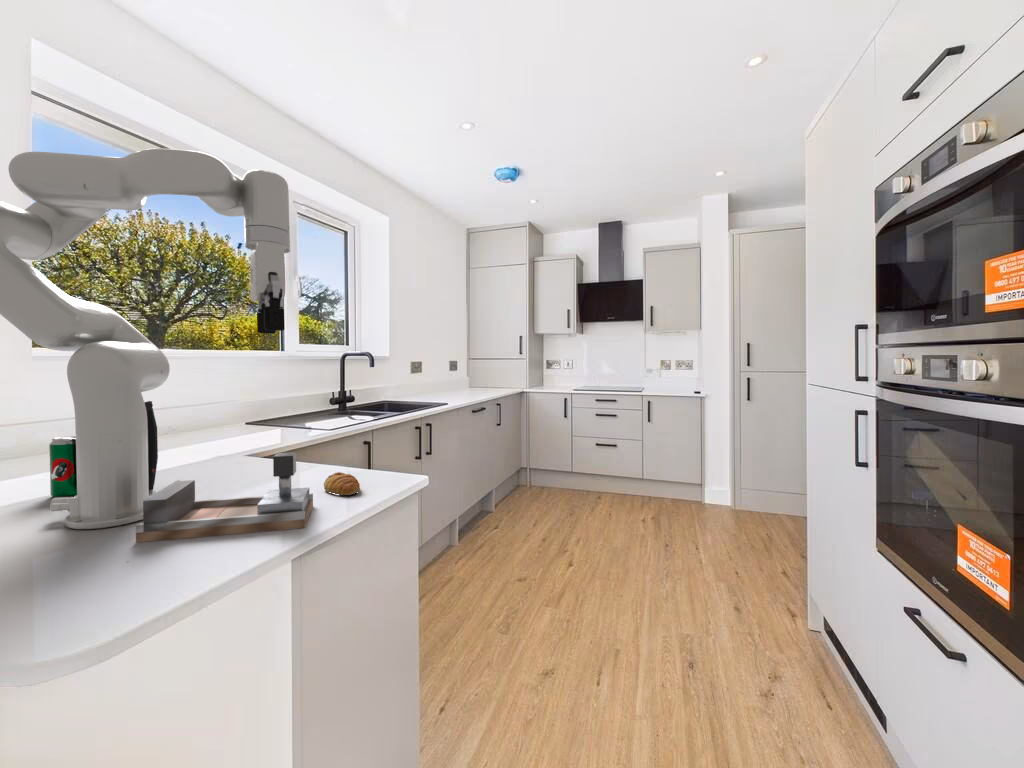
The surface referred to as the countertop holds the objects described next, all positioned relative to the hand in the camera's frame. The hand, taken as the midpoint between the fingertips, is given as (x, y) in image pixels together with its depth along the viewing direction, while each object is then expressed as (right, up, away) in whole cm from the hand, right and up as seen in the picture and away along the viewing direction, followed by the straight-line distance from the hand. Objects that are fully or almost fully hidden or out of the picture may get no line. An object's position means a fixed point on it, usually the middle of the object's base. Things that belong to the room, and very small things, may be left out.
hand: (270, 331), depth 84 cm
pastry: (+8, -34, +14) cm, 38 cm away
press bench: (-3, -35, -6) cm, 35 cm away
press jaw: (+5, -33, -4) cm, 33 cm away
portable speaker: (-35, -34, +10) cm, 50 cm away
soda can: (-46, -33, +7) cm, 57 cm away
